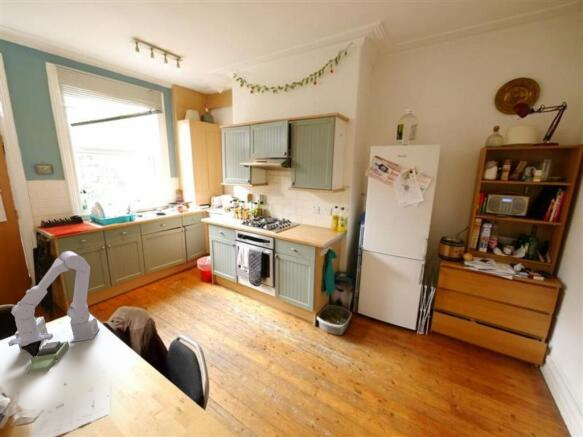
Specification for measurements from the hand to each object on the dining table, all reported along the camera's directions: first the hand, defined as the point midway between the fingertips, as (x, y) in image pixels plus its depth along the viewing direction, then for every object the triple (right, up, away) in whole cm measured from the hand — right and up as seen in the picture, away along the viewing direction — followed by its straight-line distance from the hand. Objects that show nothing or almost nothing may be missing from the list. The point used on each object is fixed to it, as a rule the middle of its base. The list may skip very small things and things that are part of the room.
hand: (35, 355), depth 110 cm
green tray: (+6, -2, 0) cm, 6 cm away
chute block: (+5, -1, +2) cm, 6 cm away
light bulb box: (-9, +1, +9) cm, 13 cm away
